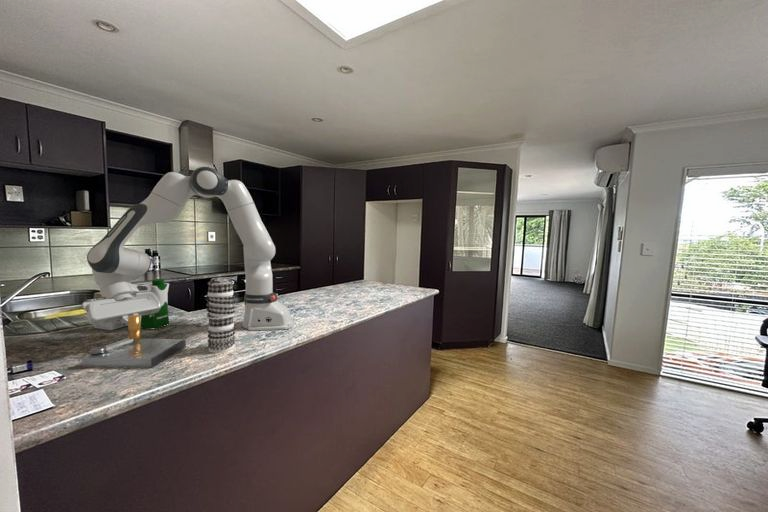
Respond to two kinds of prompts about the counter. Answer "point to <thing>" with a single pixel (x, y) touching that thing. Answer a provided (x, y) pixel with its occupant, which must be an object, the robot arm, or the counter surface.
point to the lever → (134, 336)
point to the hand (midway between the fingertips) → (134, 327)
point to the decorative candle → (220, 315)
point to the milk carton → (162, 315)
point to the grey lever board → (136, 354)
